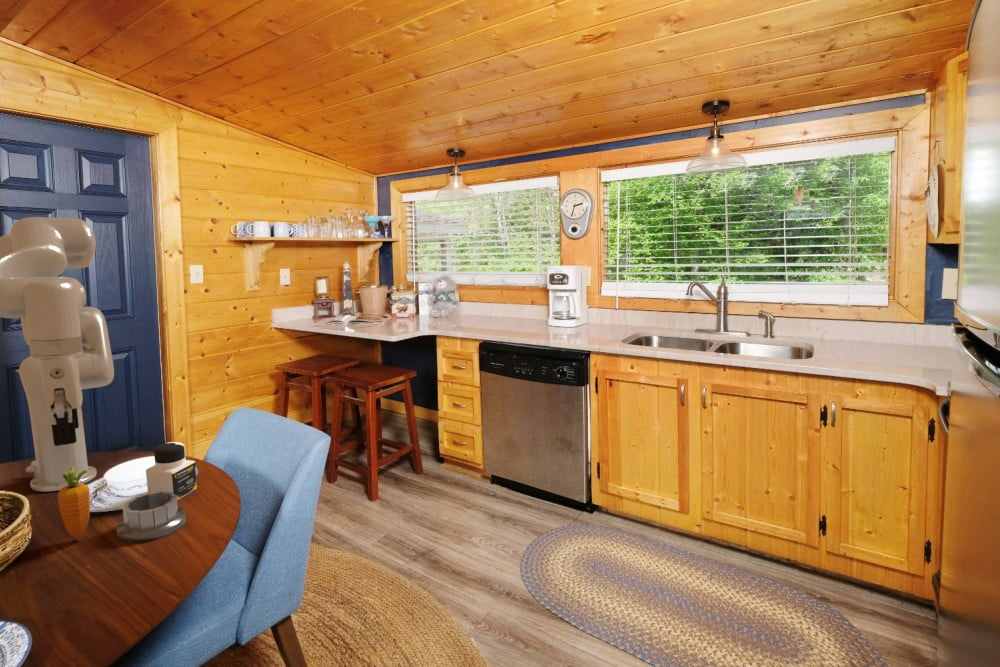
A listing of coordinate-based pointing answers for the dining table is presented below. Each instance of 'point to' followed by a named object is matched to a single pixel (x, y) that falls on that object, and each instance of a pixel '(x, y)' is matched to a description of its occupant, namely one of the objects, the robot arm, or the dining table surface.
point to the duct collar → (150, 517)
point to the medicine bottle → (171, 471)
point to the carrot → (74, 504)
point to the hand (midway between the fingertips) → (67, 436)
